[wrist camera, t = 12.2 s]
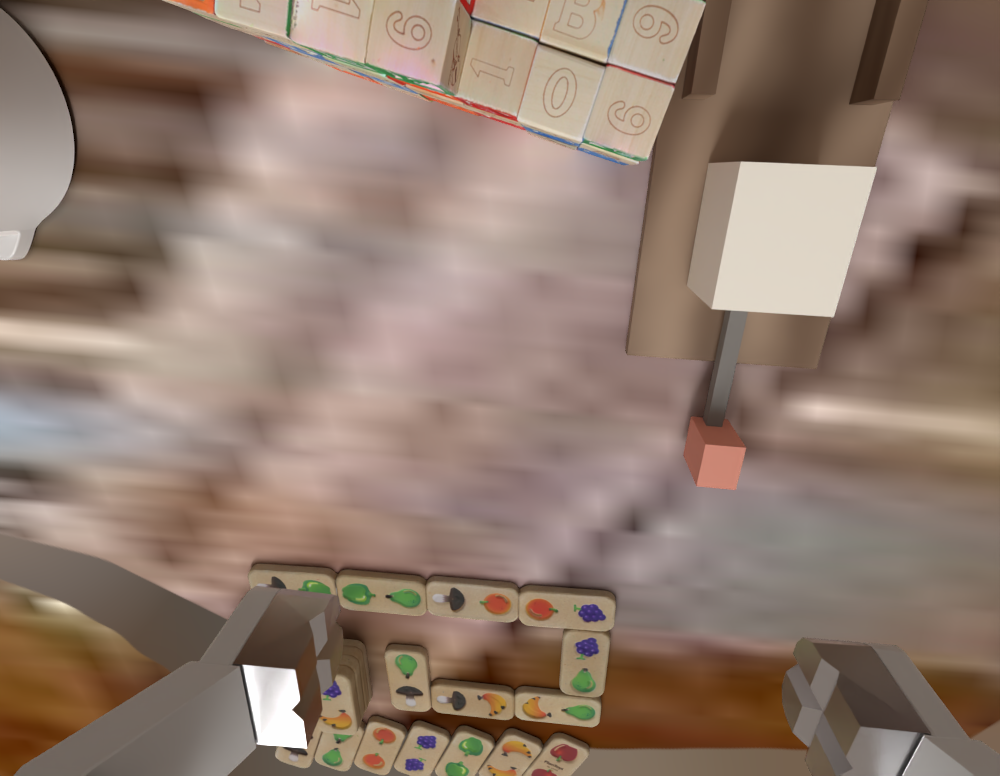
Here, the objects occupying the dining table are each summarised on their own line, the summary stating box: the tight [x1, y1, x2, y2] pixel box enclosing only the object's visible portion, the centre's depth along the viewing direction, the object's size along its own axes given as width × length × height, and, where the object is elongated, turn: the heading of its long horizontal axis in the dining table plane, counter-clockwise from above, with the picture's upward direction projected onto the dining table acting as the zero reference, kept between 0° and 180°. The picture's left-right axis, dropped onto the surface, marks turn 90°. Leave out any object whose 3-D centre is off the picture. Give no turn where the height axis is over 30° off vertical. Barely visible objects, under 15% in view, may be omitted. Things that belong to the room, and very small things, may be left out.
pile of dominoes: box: [248, 564, 616, 776], centre depth 49 cm, size 35×27×6 cm
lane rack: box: [625, 0, 929, 369], centre depth 28 cm, size 12×28×5 cm, turn 178°
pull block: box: [684, 162, 877, 490], centre depth 31 cm, size 6×19×6 cm, turn 178°
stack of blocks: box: [163, 0, 706, 165], centre depth 25 cm, size 21×6×12 cm, turn 73°
